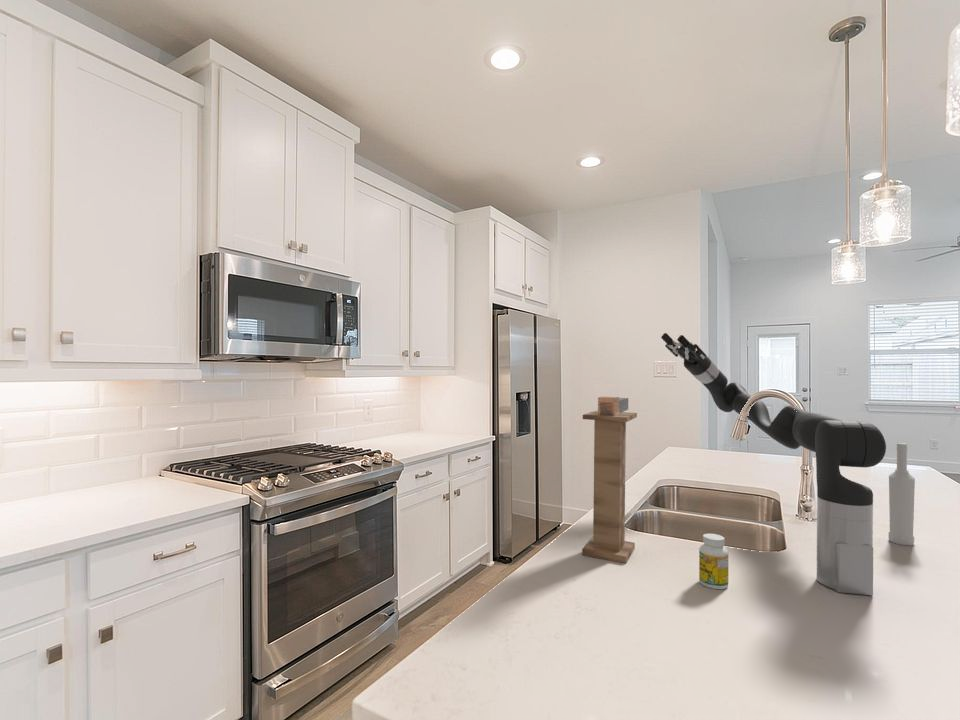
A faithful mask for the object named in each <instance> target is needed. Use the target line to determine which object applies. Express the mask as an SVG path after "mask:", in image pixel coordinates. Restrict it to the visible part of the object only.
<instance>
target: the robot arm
mask: <svg viewBox="0 0 960 720" xmlns="http://www.w3.org/2000/svg"><path fill="white" fill-rule="evenodd" d="M660 338H661V340H663V342H665V345H664V346H665V348H666V349H667V350H668V351H669V352H670V353H672V355H674V357H676V358H677V357H679V358H681V359H683V367H685V369H686V370H687V371H688V372H689V373H690V374H691V375H692V376H693V377H694V378H695V379H696V380H697V381H699V382H700V383H701V384H702V385H703V386H704V387H705V388H706V389H707V390H708V392H709V393H710V395H711V397H712V400H713V402H714V403H715V405H716V407H717V408H718V409H719V410H720V411H722V412H723V413H730V412H733V411H735V413H737V414H739V415H740V412H741V410H742V408H743V407H744V405H745V404H746V402H747V401H748V399H749V398H750V397H751V396H752V395H751V394H749V392H748V391H747V390H746V388H744V386H743V385H742V384H740V383H738V382H730V383H728V382H729V381H728V380H729V379H728V378H727V377H726V376H725V374H724V373H723V372H722V371H721V370H720V369H719V368H718V366H717V365H716V364H715V363H714V362H713V361H712V360H711V359H710V357H709V356H708V355H707V354H706V353H705V352H704V351H703V350H702V349H701V347H700V346H699V345H698V344H697V343H693V342H690V341H689V340H688V339H687V337H685V336H684V335H682V334H681V335H680V334H679V336H678V338H677V339H676V340H677V341H678V342H677V341H675V340H674V339H673V338H672V337H671V336H670V335H669V334H668V333H667V332H664V333H663V334H662V335H661V336H660ZM753 403H754V402H753ZM753 403H752V404H753ZM750 406H751V405H750ZM793 407H794V408H793ZM794 409H795V410H794ZM796 411H797V412H796ZM747 420H749V421H750V422H751V423H753V424H754V425H755V426H756V427H757V428H759V430H761V431H762V432H764V433H765V434H767V435H768V436H769V437H771V439H773V440H774V441H776V442H777V443H778V444H780V445H782V446H784V447H786V448H789V449H790V450H791V449H792V450H797V449H798V448H800V447H803V448H804V449H806V450H808V451H811V452H814V453H815V462H816V463H815V465H816V466H815V467H816V493H817V495H816V496H817V497H816V498H817V499H816V505H817V506H816V580H817V582H819V583H820V584H822V585H823V586H826V587H828V588H830V589H832V590H834V591H835V592H837V593H843V594H853V595H854V594H856V595H866V596H873V595H874V547H873V546H874V545H873V543H874V541H873V540H874V539H873V538H874V537H873V535H874V530H873V529H874V528H873V527H874V520H873V519H874V493H873V491H872V489H871V488H870V487H868V486H867V485H864V484H862V483H858V482H856V481H853V480H852V479H851V480H850V479H849V478H846V477H845V476H844V475H843V474H841V469H840V467H847V468H848V467H849V468H871V467H874V466H877V465H878V464H880V463H881V462H882V461H883V459H884V458H885V456H886V452H887V451H886V450H887V443H886V439H885V438H884V437H885V436H884V435H883V433H882V431H881V430H880V429H879V428H878V427H877V426H876V425H874V424H872V423H870V422H868V421H858V420H843V419H840V418H836V417H833V416H829V415H827V414H821V413H815V412H810V411H807V410H804V409H802V408H800V407H797V406H793V405H786V406H784V407H783V408H782V409H781V410H780V411H779V413H778V414H777V415H776V416H775V418H774V419H773V420H772V419H771V418H770V412H769V410H768V408H767V405H766V404H765V403H764V402H763V401H762V400H761V399H759V400H758V401H757V402H756V403H755V404H754V405H753V406H752V407H751V409H750V411H749V416H748V419H747ZM771 420H772V421H771Z"/></svg>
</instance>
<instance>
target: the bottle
mask: <svg viewBox="0 0 960 720" xmlns="http://www.w3.org/2000/svg"><path fill="white" fill-rule="evenodd" d="M907 456H908V443H901V442H896V469H894V472H892V473H890V474H889V475H888V491H889V492H888V499H889V500H888V502H889V503H888V505H889V508H888V509H889V510H888V512H889V532H888V535H887V536H888V540H889V542H891V543H894V544H897V545H899V546H900V545H901V546H913V545H914V544H915V536H914V519H915V516H914V514H915V489H916V487H915V485H916V479H915V477H914V476H913V475H911V474H910V473H909V470H907V469H908V467H907V466H908V462H907V461H908V460H907V459H908V457H907Z"/></svg>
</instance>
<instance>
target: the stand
mask: <svg viewBox="0 0 960 720" xmlns="http://www.w3.org/2000/svg"><path fill="white" fill-rule="evenodd" d="M637 414H638V412H627V411H624V412H621V413H619V415H616V416H609V415H598V410H594V411H590V412H587V413H584V414H582V420H592V421H594V439H593V440H594V441H593V443H594V444H593V445H594V446H593V450H594V451H593V510H592V511H593V515H592V516H593V517H592V518H593V523H592V524H593V526H592V532H593V533H592V534H593V535H592V537H591V538H590V539H589V540H588V541H587V542H586V543H585V545H584V546H583V547H582V550H581V554H582V556H586V557H592V558H596V559H602V560H607V561H610V562H611V561H612V562H617V563H623V564H627V563H628V562H629V560H630V558H631V556H632V555H633V552H634V550H635V549H636V548H635V545H636V542H632V541H627V540H625V538H626V537H625V536H626V535H625V534H626V533H625V530H626V529H625V528H626V527H625V525H626V523H625V521H626V516H625V515H626V450H627V449H626V447H627V445H626V444H627V443H626V441H627V439H626V435H627V434H626V433H627V423H628V422H630V421H632V420H634V419H636V418H637V416H638V415H637Z"/></svg>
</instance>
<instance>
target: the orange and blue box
mask: <svg viewBox="0 0 960 720" xmlns="http://www.w3.org/2000/svg"><path fill="white" fill-rule="evenodd" d="M628 410H629V398H628V397H619V396H617V397H616V396H598V397H597V411H598V415H609V416H616V415H619V413H621V412H627V411H628Z"/></svg>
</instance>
